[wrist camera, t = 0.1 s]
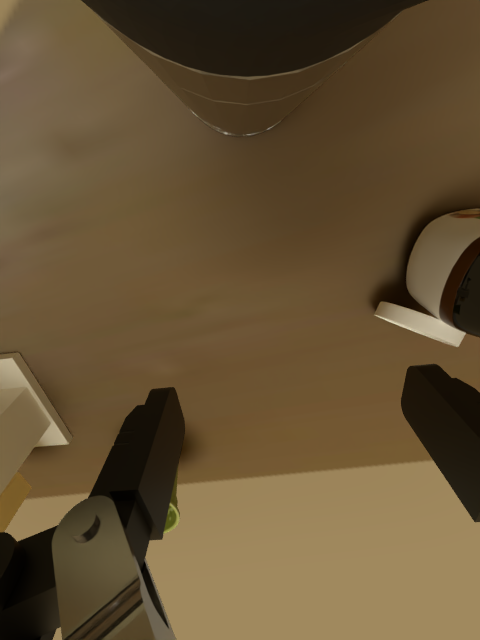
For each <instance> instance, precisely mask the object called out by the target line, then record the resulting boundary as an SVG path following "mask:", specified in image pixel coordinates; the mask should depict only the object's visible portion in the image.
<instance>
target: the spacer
mask: <svg viewBox="0 0 480 640" xmlns="http://www.w3.org/2000/svg"><path fill="white" fill-rule="evenodd" d="M31 488H32V487H31V486H30V485H29V484H28V482H27V481H26V480H25V479H24V478H23V477H22V476H21V474H20V473H16V474H15V475H14V476H13V478H12V479H11V481H10V482H9V484H8V485H7V486H6V488H5V489H4V491H3V492H2V493H1V495H0V532H4V531H5V530H6V528H7V526H8V525H9V523H10V521H11V520H12V518H13V517H14V515H15V514H16V512H17V510H18V509H19V507H20V506H21V504H22V503H23V501H24V499H25V498H26V496H27V495H28V493H29V491H30V490H31Z"/></svg>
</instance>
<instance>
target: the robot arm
mask: <svg viewBox="0 0 480 640" xmlns="http://www.w3.org/2000/svg"><path fill="white" fill-rule="evenodd" d="M82 1H83V2H84V3H85V4H86V5H87V6H88V7H90V8H91V9H92V10H93V11H94V12H95V13H96V14H97V15H98V16H99V17H100V18H101V19H102V20H103V21H104V23H105V24H106V25H107V26H108V27H109V28H110V29H111V30H112V31H113V32H114V33H115V34H116V35H117V36H118V37H119V38H120V39H121V40H122V41H123V42H124V43H125V44H126V45H127V46H128V47H129V48H130V49H131V50H132V51H133V52H134V53H135V54H136V55H137V56H138V57H139V58H140V59H141V60H142V61H143V62H144V63H145V64H146V65H147V66H148V67H149V68H150V69H151V70H152V71H153V72H154V73H155V74H156V75H157V76H158V77H159V78H160V79H161V80H162V81H163V82H164V83H165V84H166V85H167V86H168V87H169V88H170V89H171V90H172V91H173V93H174V94H175V95H176V96H177V97H178V98H179V99H180V100H181V101H182V102H183V103H184V104H185V105H186V106H187V107H188V108H189V109H190V110H191V111H192V112H193V113H194V114H195V115H196V116H197V117H198V118H199V119H200V120H201V121H203V122H204V123H205V124H206V125H207V126H209V127H210V128H212V129H214V130H216V131H218V132H220V133H222V134H226V135H230V136H234V137H249V136H252V135H256V134H260V133H263V132H264V131H266V130H268V129H271V128H272V127H274V126H275V125H277V124H278V123H280V122H281V121H282V119H283V118H284V117H286V116H287V115H288V114H289V113H291V112H292V111H293V110H294V109H295V108H296V107H297V106H298V105H299V104H301V103H302V102H303V101H304V100H305V99H306V98H307V97H308V96H309V95H311V94H312V93H313V92H314V91H315V90H316V89H317V88H318V87H320V86H321V85H322V84H323V83H324V82H325V81H326V80H327V79H328V78H330V77H331V76H332V75H333V74H334V73H335V72H336V71H337V70H338V69H340V68H341V67H342V66H343V65H344V64H345V63H346V62H347V61H348V60H349V59H350V58H351V57H352V56H354V55H355V54H356V53H357V52H358V51H359V50H360V49H361V48H362V47H364V46H365V45H366V44H367V43H368V42H369V41H370V40H371V39H372V38H374V37H375V36H376V35H377V34H378V33H379V32H380V31H381V30H382V29H384V28H385V27H386V26H387V25H388V24H389V23H390V22H391V21H392V20H394V19H395V18H396V17H397V16H398V15H399V14H400V13H401V12H402V11H403V10H404V9H407V8H409V7H412V6H414V5H417V4H420V3H422V2H425V1H427V0H82ZM401 407H402V411H403V414H404V416H405V418H406V420H407V421H408V423H409V424H410V426H411V427H412V429H413V430H414V432H415V433H416V435H417V436H418V438H419V439H420V441H421V442H422V444H423V445H424V447H425V448H426V450H427V451H428V453H429V454H430V456H431V457H432V459H433V460H434V462H435V463H436V465H437V466H438V468H439V469H440V471H441V472H442V474H443V475H444V477H445V478H446V480H447V481H448V482H449V484H450V485H451V487H452V489H453V490H454V492H455V493H456V495H457V496H458V498H459V499H460V500H461V502H462V504H463V505H464V507H465V508H466V510H467V511H468V513H469V514H470V516H471V517H472V519H473V520H474V522H480V393H479V392H478V391H477V390H476V389H475V388H473V387H472V386H470V385H468V384H466V383H464V382H463V381H461V380H459V379H457V378H451V377H450V376H449V375H448V374H447V373H446V372H445V371H444V370H443V369H442V368H441V367H440V366H438V365H437V364H427V365H416V366H410V367H409V368H408V369H407V373H406V378H405V383H404V388H403V393H402V398H401ZM119 432H120V433H119V434H118V436H117V438H116V440H115V442H114V446H112V449H111V451H110V453H109V455H108V457H107V459H106V461H105V464H104V466H103V468H102V470H101V472H100V474H99V476H98V479H97V481H96V483H95V485H94V487H93V489H92V491H91V493H90V495H89V497H88V499H85V500H83V501H81V502H80V503H78V504H77V505H75V506H74V507H73V508H72V509H71V510H70V511H69V512H68V513H67V514H66V515H65V516H64V518H63V519H62V520H61V522H60V523H59V525H57V526H55V527H53V528H50V529H48V530H45V531H43V532H40V533H38V534H35V535H33V536H31V537H28V538H26V539H23V540H21V541H18V542H17V541H16V540H15V539H14V538H13V537H12V536H11V535H10V534H8V533H5V532H0V640H52V639H53V637H54V634H55V631H56V629H57V628H59V627H61V633H62V640H176V637H175V635H174V633H173V630H172V628H171V625H170V623H169V620H168V617H167V614H166V612H165V609H164V606H163V604H162V601H161V598H160V596H159V593H158V590H157V588H156V585H155V582H154V580H153V577H152V574H151V572H150V569H149V566H148V564H147V561H146V559H145V556H146V551H147V547H148V544H149V540H161V539H162V538H163V533H164V529H165V524H166V519H167V514H168V510H169V505H170V500H171V496H172V491H173V486H174V482H175V477H176V472H177V467H178V463H179V458H180V453H181V449H182V444H183V439H184V434H185V422H184V417H183V413H182V410H181V406H180V403H179V400H178V396H177V393H176V390H175V388H174V387H169V388H158V389H152V390H151V391H150V393H149V395H148V398H147V400H146V402H145V405H138V406H136V407H135V408H134V409H133V411H132V412H131V413H130V414H129V415H128V416H127V417H126V418H125V421H124V423H123V425H122V427H121V429H120V431H119Z"/></svg>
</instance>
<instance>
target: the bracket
mask: <svg viewBox="0 0 480 640" xmlns="http://www.w3.org/2000/svg"><path fill="white" fill-rule="evenodd" d="M72 438H73V437H72V435H71V434H70V432H69V431H68V429H67V427H66V426H65V424H64V423H63V421H62V420H61V418H60V416H59V415H58V413H57V412H56V410H55V409H54V407H53V405H52V404H51V402H50V401H49V399H48V397H47V396H46V394H45V393H44V391H43V390H42V388H41V386H40V385H39V383H38V382H37V380H36V379H35V377H34V375H33V374H32V372H31V371H30V369H29V368H28V366H27V364H26V363H25V361H24V360H23V358H22V357H21V355H20V353H19V352H18V353H8V354H0V495H1V493H2V492H3V491H4V489H5V488H6V486H7V485H8V484H9V482H10V481H11V479H12V478H13V476H14V475H15V474H16V472H17V471H18V469H19V468H20V467H21V465H22V464H23V462H24V461H25V460H26V458H27V457H28V455H29V454H30V453H31V451H32V450H33V448H34V447H40V446H52V445H64V444H69V443H70V441H71V440H72Z"/></svg>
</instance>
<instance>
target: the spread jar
mask: <svg viewBox="0 0 480 640" xmlns="http://www.w3.org/2000/svg"><path fill="white" fill-rule="evenodd" d="M406 285H407V289H408V291H409V293H410V295H411V296H412V297H413V298H414V299H415V300H416V301H417V302H418V303H419V304H420V305H422V306H423V307H424V308H425V309H427V310H428V311H429V312H430V313H432V314H433V315H434V316H435V317H437V318H438V319H437V318H434V317H431V316H429V315H426V314H423V313H420V312H417V311H415V310H412V309H409V308H405V307H402V306H399V305H395V304H392V303H388V302H383V301H381V302H380V303H379V306H378V308H377V310H376V312H375V314H374V315H375V316H377V317H379V318H382V319H384V320H386V321H389V322H391V323H394V324H396V325H399V326H401V327H404V328H406V329H409V330H411V331H414V332H416V333H419V334H422V335H424V336H427V337H430V338H432V339H435V340H438V341H440V342H443V343H446V344H449V345H452V346H455V347H458V346H459V345H460V343H461V341H462V339H463V337H464V336H465V334H466V333H467V334H470V335H473V336H476V337H480V208H478V209H463V210H458V211H454V212H450V213H447V214H444V215H441V216H439V217H437V218H435V219H433V220H432V221H431V222H429V223H428V224H427V225H426V226H425V227H424V228H423V230H422V231H421V232H420V234H419V235H418V237H417V239H416V241H415V243H414V245H413V247H412V250H411V252H410V255H409V259H408V263H407V270H406Z"/></svg>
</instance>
